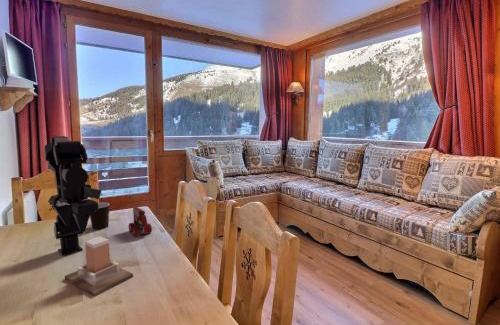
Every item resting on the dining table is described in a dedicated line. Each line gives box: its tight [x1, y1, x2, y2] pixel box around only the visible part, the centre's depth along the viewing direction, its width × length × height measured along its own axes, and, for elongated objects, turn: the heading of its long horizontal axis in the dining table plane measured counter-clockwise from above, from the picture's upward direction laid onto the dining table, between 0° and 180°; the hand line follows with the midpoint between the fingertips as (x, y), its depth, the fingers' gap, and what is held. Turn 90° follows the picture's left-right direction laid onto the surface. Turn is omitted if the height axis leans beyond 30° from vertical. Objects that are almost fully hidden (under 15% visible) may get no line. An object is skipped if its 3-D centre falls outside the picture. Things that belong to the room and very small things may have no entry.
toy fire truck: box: [127, 206, 153, 237], centre depth 124 cm, size 7×12×10 cm, turn 40°
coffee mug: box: [89, 202, 110, 231], centre depth 131 cm, size 12×9×10 cm
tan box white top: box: [84, 236, 111, 273], centre depth 88 cm, size 5×5×11 cm
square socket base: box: [64, 259, 134, 297], centre depth 89 cm, size 16×12×4 cm
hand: (75, 228), depth 94 cm, fingers open, 9 cm apart
